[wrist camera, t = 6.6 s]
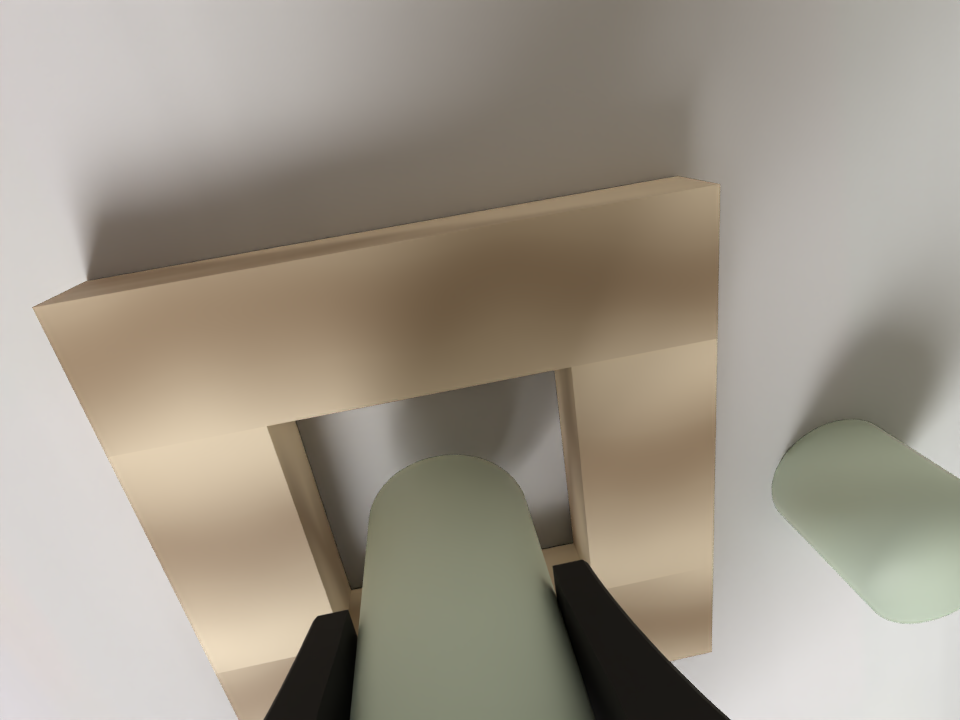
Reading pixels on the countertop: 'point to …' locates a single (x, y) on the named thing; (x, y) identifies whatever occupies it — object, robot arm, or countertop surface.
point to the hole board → (408, 374)
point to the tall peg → (460, 604)
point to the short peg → (876, 517)
